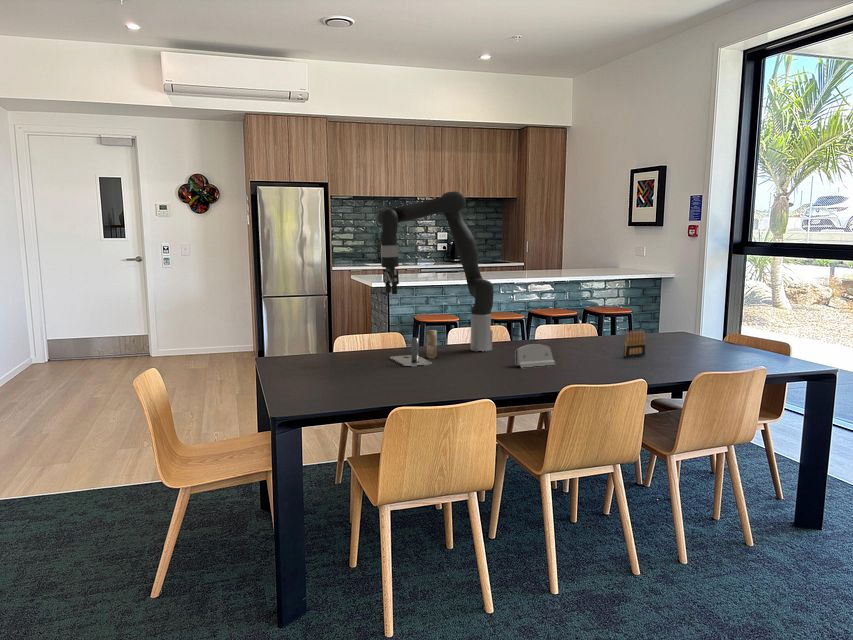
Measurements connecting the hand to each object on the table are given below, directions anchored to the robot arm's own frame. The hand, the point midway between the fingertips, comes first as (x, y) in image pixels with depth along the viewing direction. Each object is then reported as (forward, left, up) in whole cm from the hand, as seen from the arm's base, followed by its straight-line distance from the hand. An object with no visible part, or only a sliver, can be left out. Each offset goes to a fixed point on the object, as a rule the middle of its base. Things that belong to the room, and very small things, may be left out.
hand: (391, 293), depth 272 cm
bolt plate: (-4, +12, -28) cm, 31 cm away
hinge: (-49, +38, -29) cm, 68 cm away
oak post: (-16, +7, -28) cm, 33 cm away
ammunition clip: (-101, +39, -29) cm, 112 cm away
